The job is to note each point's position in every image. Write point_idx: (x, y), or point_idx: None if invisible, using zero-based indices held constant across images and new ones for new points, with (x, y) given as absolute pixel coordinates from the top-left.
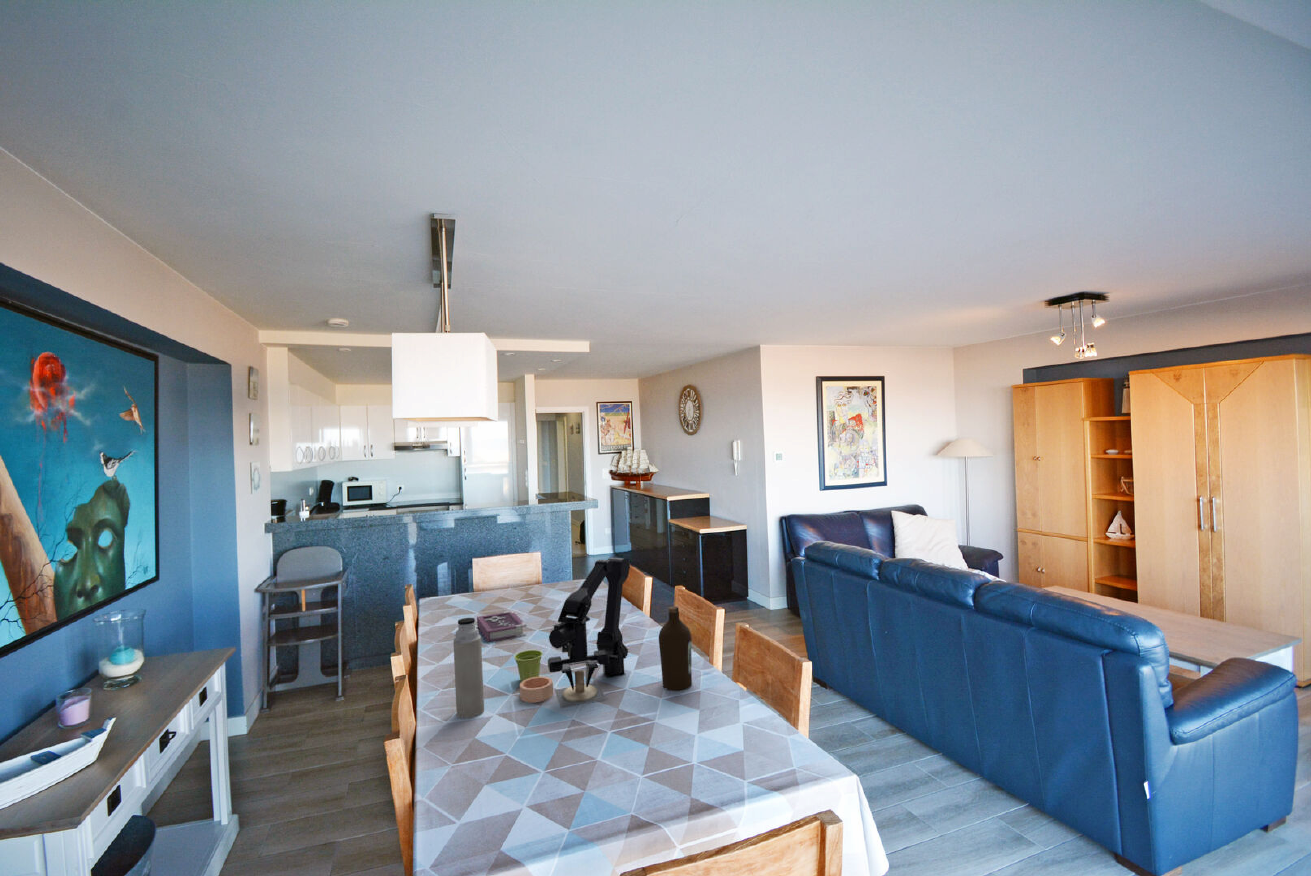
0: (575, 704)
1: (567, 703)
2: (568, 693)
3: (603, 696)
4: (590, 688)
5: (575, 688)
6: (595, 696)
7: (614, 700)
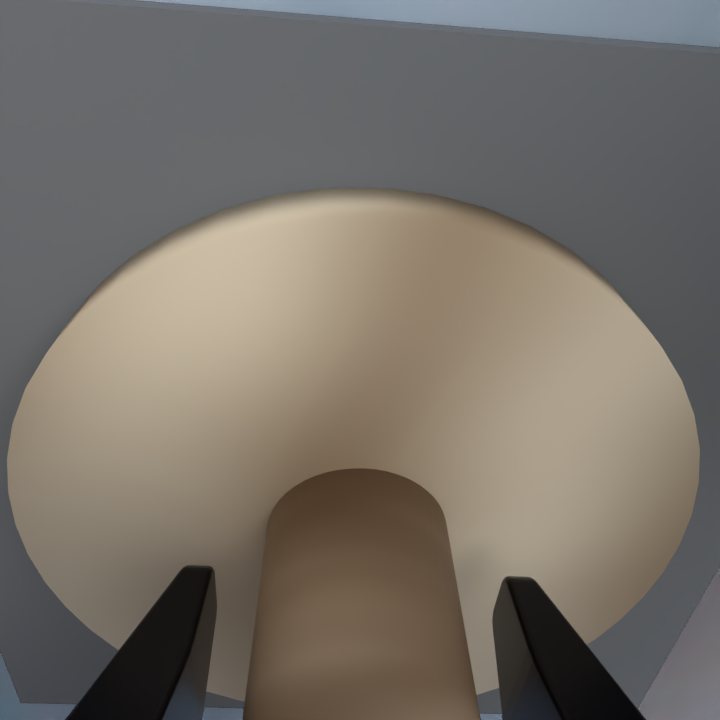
0: (221, 697)
1: (112, 649)
2: (119, 535)
3: (649, 648)
4: (588, 503)
5: (259, 590)
6: None
7: (716, 695)
